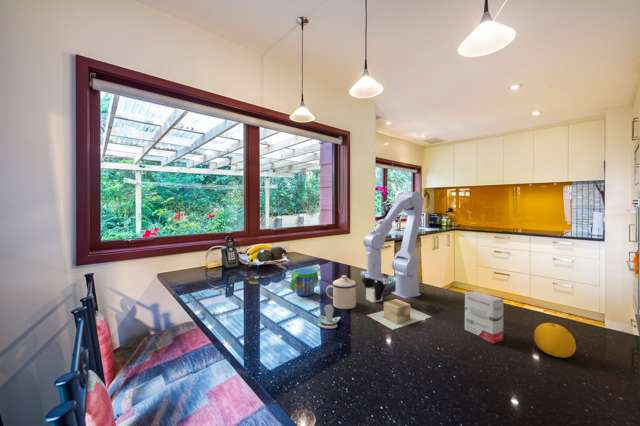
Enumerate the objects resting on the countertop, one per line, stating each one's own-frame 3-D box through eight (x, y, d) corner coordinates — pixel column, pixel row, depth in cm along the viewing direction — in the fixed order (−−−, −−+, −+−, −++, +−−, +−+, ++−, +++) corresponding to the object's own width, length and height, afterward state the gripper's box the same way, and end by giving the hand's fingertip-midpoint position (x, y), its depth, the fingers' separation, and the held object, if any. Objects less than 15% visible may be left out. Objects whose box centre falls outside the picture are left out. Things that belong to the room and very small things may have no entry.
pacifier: (338, 331, 78) (341, 322, 84) (337, 311, 78) (341, 303, 84) (315, 328, 80) (319, 320, 86) (314, 309, 80) (319, 301, 86)
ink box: (504, 340, 72) (504, 298, 71) (493, 344, 69) (493, 301, 69) (474, 327, 79) (474, 289, 79) (463, 331, 77) (464, 292, 77)
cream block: (374, 298, 105) (374, 286, 105) (382, 302, 101) (382, 289, 101) (366, 300, 103) (366, 288, 103) (373, 304, 99) (373, 291, 99)
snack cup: (310, 287, 121) (310, 266, 121) (326, 292, 113) (326, 269, 113) (283, 295, 110) (283, 272, 110) (299, 301, 103) (298, 276, 102)
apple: (580, 366, 60) (581, 334, 59) (536, 356, 64) (537, 326, 64) (570, 350, 66) (570, 321, 66) (531, 342, 71) (531, 315, 70)
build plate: (404, 306, 96) (404, 304, 96) (431, 318, 86) (431, 316, 86) (366, 316, 88) (366, 315, 88) (392, 331, 77) (392, 329, 77)
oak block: (396, 313, 89) (396, 298, 89) (410, 319, 84) (410, 304, 84) (383, 316, 86) (383, 302, 86) (397, 323, 81) (397, 308, 81)
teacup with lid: (359, 303, 100) (358, 274, 100) (352, 312, 92) (352, 280, 91) (330, 299, 105) (330, 271, 104) (321, 307, 96) (321, 276, 96)
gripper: (354, 261, 106) (355, 294, 107) (378, 268, 94) (378, 305, 94) (368, 259, 110) (368, 291, 110) (392, 266, 97) (393, 302, 97)
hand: (374, 297), depth 102 cm, fingers closed on cream block, 4 cm apart
